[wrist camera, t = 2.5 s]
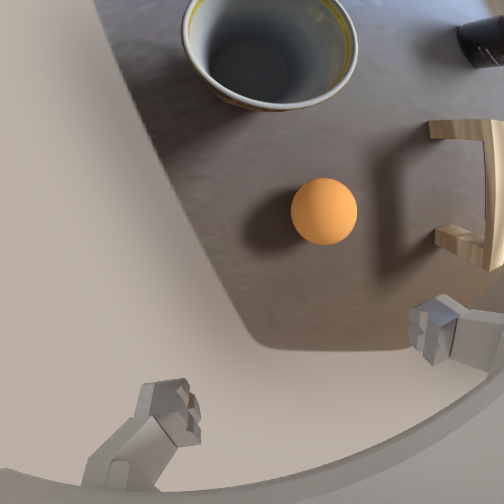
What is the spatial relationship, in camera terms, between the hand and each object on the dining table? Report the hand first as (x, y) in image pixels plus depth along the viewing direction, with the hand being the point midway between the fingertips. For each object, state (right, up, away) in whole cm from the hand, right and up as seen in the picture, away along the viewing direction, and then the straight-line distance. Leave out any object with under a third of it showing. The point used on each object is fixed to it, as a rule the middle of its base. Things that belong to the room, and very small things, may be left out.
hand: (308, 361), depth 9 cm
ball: (+4, +7, +14) cm, 16 cm away
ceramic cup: (-3, +20, +12) cm, 23 cm away
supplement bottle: (+28, +32, +13) cm, 44 cm away
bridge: (+20, +12, +18) cm, 29 cm away
